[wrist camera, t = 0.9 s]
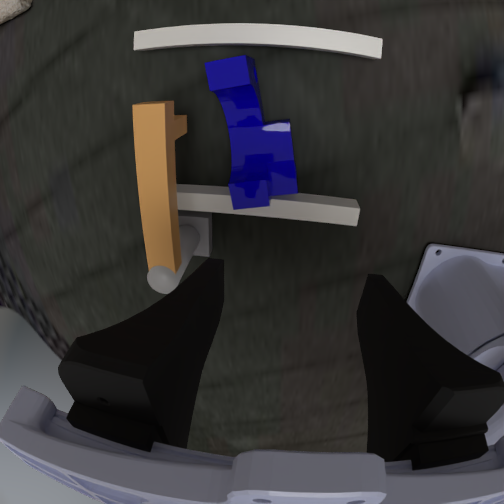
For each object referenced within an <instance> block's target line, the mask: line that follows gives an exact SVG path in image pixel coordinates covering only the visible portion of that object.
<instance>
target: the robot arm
mask: <svg viewBox="0 0 504 504" xmlns="http://www.w3.org/2000/svg"><path fill="white" fill-rule="evenodd" d="M439 249H440V250H439ZM437 250H439V252H438V253H435V252H436V251H437ZM503 259H504V253H498V252H491V251H484V250H477V249H470V248H463V247H455V246H448V245H440V244H429V245H428V246H427V247H426V249H425V252H424V255H423V258H422V261H421V264H420V267H419V270H418V273H417V275H416V278H415V281H414V283H413V286H412V289H411V291H410V294H409V296H408V299H407V302H406V301H405V300H404V299H403V298H402V297H401V295H400V294H399V293H398V292H397V291H396V290H395V288H394V287H393V286H392V285H391V284H390V283H389V282H388V281H387V279H386V278H385V277H384V276H383V275H375V274H368V277H367V280H366V283H365V287H364V290H363V294H362V297H361V300H360V303H359V307H358V310H357V327H358V336H359V342H360V347H361V352H362V358H363V363H364V368H365V374H366V380H367V390H368V441H367V453H364V452H303V451H286V450H257V449H255V450H251V451H247V452H242V453H240V454H239V455H238V456H237V457H229V456H222V455H216V454H210V453H205V452H199V451H194V450H189V449H187V442H188V436H189V431H190V425H191V420H192V415H193V410H194V405H195V400H196V395H197V391H198V386H199V382H200V378H201V373H202V370H203V367H204V363H205V361H206V358H207V355H208V352H209V349H210V347H211V344H212V341H213V338H214V335H215V333H216V330H217V327H218V324H219V321H220V317H221V313H222V308H223V303H224V260H221V259H212V258H208V259H207V260H206V261H205V262H204V263H203V264H202V265H201V266H200V267H199V268H197V269H196V270H195V271H194V272H193V273H192V274H191V275H190V276H189V277H188V278H187V279H186V280H184V281H183V282H182V283H181V284H180V285H179V286H178V287H176V288H175V289H174V290H173V291H171V292H170V293H169V294H168V295H166V296H165V297H164V298H162V299H161V300H160V301H158V302H157V303H155V304H153V305H152V306H150V307H149V308H147V309H145V310H144V311H142V312H140V313H138V314H136V315H134V316H132V317H131V318H129V319H127V320H125V321H122V322H120V323H118V324H116V325H113V326H111V327H108V328H106V329H103V330H100V331H97V332H94V333H91V334H87V335H84V336H81V337H77V338H76V339H75V341H74V342H73V344H72V345H71V347H70V348H69V350H68V351H67V353H66V355H65V356H64V358H63V360H62V361H61V363H60V365H59V367H58V372H59V376H60V378H61V380H62V382H63V383H64V385H65V387H66V388H67V390H68V391H69V393H70V395H71V396H72V398H73V399H74V403H73V405H72V407H71V409H70V411H69V413H65V412H63V411H60V410H58V409H56V407H55V405H54V403H53V402H52V401H51V400H50V399H49V398H48V397H47V396H45V395H43V394H41V393H39V392H37V391H35V390H32V389H30V388H28V387H26V386H22V387H21V388H20V390H19V392H18V394H17V395H16V397H15V398H14V400H13V402H12V403H11V405H10V407H9V409H8V410H7V412H6V414H5V416H4V417H3V419H2V421H1V423H0V442H1V443H3V445H5V446H6V447H7V448H8V449H9V450H10V451H12V453H14V454H15V455H16V456H17V457H19V458H20V459H21V460H22V461H23V462H24V463H26V464H27V465H28V466H30V467H32V468H34V469H36V470H37V471H39V472H41V473H43V474H44V475H46V476H48V477H50V478H52V479H54V480H56V481H58V482H60V483H62V484H64V485H66V486H67V487H69V488H71V489H74V490H76V491H78V492H80V493H82V494H84V495H86V496H88V497H91V498H93V499H95V500H98V501H100V502H102V503H104V504H504V260H503ZM502 260H503V261H502Z"/></svg>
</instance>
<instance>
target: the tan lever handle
mask: <svg viewBox="0 0 504 504" xmlns="http://www.w3.org/2000/svg"><path fill="white" fill-rule="evenodd" d="M133 126H134V143H135V157H136V170H137V181H138V191H139V201H140V209H141V218H142V226H143V233H144V241H145V248H146V255H147V261H148V267H149V272H148V274H147V280H148V283H149V285H150V286H151V287H152V288H153V289H154V290H156V291H157V292H160V293H163V294H169V293H170V292H171V291H173V290H174V289H175V288H176V287H177V285H178V283H179V281H180V279H181V277H182V275H183V273H184V271H185V269H186V267H187V265H188V263H189V261H190V259H191V257H192V255H193V253H194V251H195V250H196V248H197V246H198V244H199V241H200V236H199V233H198V231H197V230H196V229H195V228H193V227H191V226H188V225H183V226H180V227H179V220H178V205H177V188H176V166H175V140H176V139H178V138H179V137H181V136H182V135H184V134H186V133H187V115H174V101H155V102H142V103H139V104H135V105H133Z"/></svg>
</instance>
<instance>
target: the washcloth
mask: <svg viewBox="0 0 504 504" xmlns="http://www.w3.org/2000/svg"><path fill="white" fill-rule="evenodd" d="M31 3H32V0H0V24H2V23H4V22H6V21H8V20H9V19H13V18H14V17H15V16H17V15H19V14H21V13H22V12H25V11H26V10H27V9H29V7H31Z"/></svg>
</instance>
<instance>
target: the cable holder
mask: <svg viewBox="0 0 504 504" xmlns="http://www.w3.org/2000/svg"><path fill="white" fill-rule="evenodd" d="M205 68H206V73H207V78H208V83H209V89H210V91H212V92H214V93H215V94H216V95H217V97H218V98H219V100H220V103H221V105H222V108H223V110H224V114H225V117H226V121H227V125H228V130H229V136H230V144H231V157H232V167H231V177H230V181H229V183H228V186H229V191H230V196H231V201H232V206H233V210H238V209H247V208H257V207H267V206H270V203H271V198H272V196H277V195H288V194H298V181H297V172H296V164H295V156H294V148H293V140H292V133H291V126H290V119H285V120H276V121H268V122H265V120H264V114H263V107H262V101H261V95H260V89H259V83H258V78H257V72H256V66H255V60H254V59H253V58H251V57H248V56H246V55H243V56H238V57H232V58H227V59H221V60H216V61H212V62H207V63H205Z"/></svg>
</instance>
